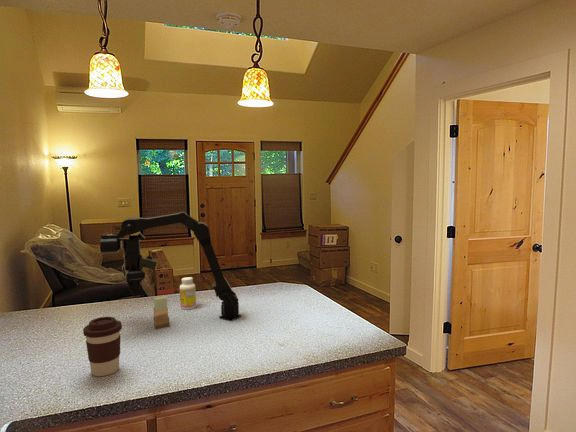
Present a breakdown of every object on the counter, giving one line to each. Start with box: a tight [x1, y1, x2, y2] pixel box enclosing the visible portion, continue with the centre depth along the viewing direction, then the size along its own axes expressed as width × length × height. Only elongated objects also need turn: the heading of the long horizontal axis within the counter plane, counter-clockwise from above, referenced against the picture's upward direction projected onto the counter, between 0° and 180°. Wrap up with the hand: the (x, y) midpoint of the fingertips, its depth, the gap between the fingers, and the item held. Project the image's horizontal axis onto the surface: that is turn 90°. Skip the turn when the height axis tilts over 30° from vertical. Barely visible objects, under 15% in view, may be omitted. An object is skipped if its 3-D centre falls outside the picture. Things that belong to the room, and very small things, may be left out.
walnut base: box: [153, 315, 171, 330], centre depth 146 cm, size 5×5×4 cm
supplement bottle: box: [179, 276, 197, 310], centre depth 166 cm, size 7×7×13 cm
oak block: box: [153, 307, 169, 320], centre depth 145 cm, size 4×4×4 cm
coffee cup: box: [82, 316, 123, 377], centre depth 110 cm, size 10×10×15 cm
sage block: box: [153, 295, 168, 310], centre depth 145 cm, size 4×4×4 cm
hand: (134, 293), depth 144 cm, fingers open, 9 cm apart
